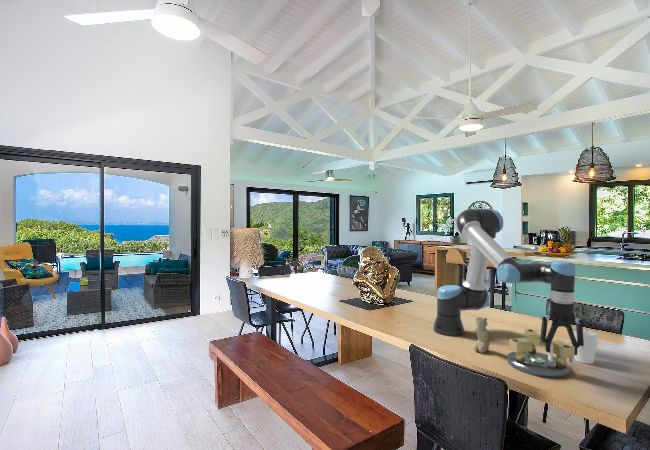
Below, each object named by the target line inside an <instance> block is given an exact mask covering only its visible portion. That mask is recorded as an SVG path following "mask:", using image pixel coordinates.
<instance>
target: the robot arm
mask: <svg viewBox="0 0 650 450" xmlns="http://www.w3.org/2000/svg"><path fill="white" fill-rule="evenodd" d="M455 222H456V227H457V231H458V232H459V233H460V234H461V236H462V237H464V238H465V239H469V241H470V242H471V247H470V248H471V250H470V255H469V260H468V267H467V272H466V277H465V280H464V281H462V285H461V286H459V285H456V284H451V285H450V284H446V285H443V286H440V287H438V289H437V292H436V293H437V294H436V317H435V320H434V322H433V332H435V333H437V334H440V335H442V336H443V335H444V336H453V337H457V336H458V337H459V336H463V335H464V334H465V327H464V324H463V321H462V316H461V315H462V314H461V313H462V311H479V310H482V309H485V308H487V306H488V304H489V302H490V295H489V291H488V290H487V286H486V285H485V277H486V274H487V273H486V272H487V266H488V262H490V263H491V264H492V265H493V267H495V269H496V275H497V278H498V280H499V281H500V282H501V283H504V284H521V283H523V284H524V283H545V284H549V285H550V298H549V299H550V303H549V305H550V307H549V309H550V310H549V314H547V315H542V314H541V315H540V319H541V327H540V328H541V329H540V334H539V335H540V342H542V343H545V351H546V353H548V354H547V355H548V360H549V361H550V362H553V357H554V353H553V345H552V344H551V342H552V341H553V340H554V337H555V334H556V332H557V330H558V328H559V327H561V328H562V327H563V328H566V331H567V334H568V336H569V339H570V342H571V344H569V346H571V347H573V348H574V349H573V358H568V361H569V363H570V364H571V365H575V359H574V355H577V348H579V346H583V345H584V341H583V329H584V328H583V325H584V323H585V321H584V319H582V318H580V317H579V318H578V317H576V316H575V304H574V303H575V293H576V292H575V284H576V283H575V282H576V274H577V273H576V265H575V264H574V263H573V262H572V261H566V260H553V261H551V264H549V263H547V264H546V263H542V262H541V263H540V262H537V261H535V262H534V261H528V262H527V263H518V261H516V259H514V257H512V256H511V255H510V254H509V253H508V252H507V251H506V250H505V249H504V248H503V247H502V246H501V245H500V244H499V243H498V242H497V241H496V240H495V239H496V237H497V233H500V232H501V231H502V230H503V228H504V218H503V216H502V214H501V213H500V212H499V211H498V210H496V209H490V208H474V209H473V208H469V209H465V210H462V211H461V212H460V213H459V214H458V216H457V218H456V221H455ZM549 320H551V321H552V322H551V326H550V328H549V331H548V322H549ZM574 322H575V329H576V331H577V341H576V338H575V336H574V333H573V330H572V329H573V326H572V323H574ZM547 331H548V333H547Z"/></svg>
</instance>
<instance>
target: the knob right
mask: <svg viewBox="0 0 650 450" xmlns="http://www.w3.org/2000/svg"><path fill="white" fill-rule="evenodd" d="M551 344H552V345H553V355H554V354H555V357H556V366H557V367H558V368H563V369H565V368H566V363H567V359H569V358H573V349H574V348H573V347H571V346H570V344H567V343H565V342H563V341H561V340H552V342H551Z"/></svg>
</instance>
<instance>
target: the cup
mask: <svg viewBox="0 0 650 450" xmlns="http://www.w3.org/2000/svg"><path fill="white" fill-rule="evenodd" d="M572 330H573V333H574V336H575V338H576V341H577V331H576V328H572ZM598 336H599V335H598V333H597V332H595V331H593V330H589V329H584V328H583V341H584V345H583V346H579V348H577V355H574V361H576V362H578V363H580V364H587V365H591V364H594V363H595V358H596V353H597V347H598V344H599V343H598V342H599V339H598Z"/></svg>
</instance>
